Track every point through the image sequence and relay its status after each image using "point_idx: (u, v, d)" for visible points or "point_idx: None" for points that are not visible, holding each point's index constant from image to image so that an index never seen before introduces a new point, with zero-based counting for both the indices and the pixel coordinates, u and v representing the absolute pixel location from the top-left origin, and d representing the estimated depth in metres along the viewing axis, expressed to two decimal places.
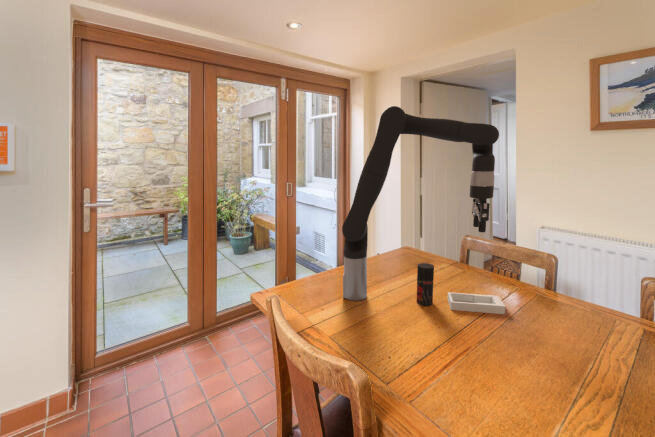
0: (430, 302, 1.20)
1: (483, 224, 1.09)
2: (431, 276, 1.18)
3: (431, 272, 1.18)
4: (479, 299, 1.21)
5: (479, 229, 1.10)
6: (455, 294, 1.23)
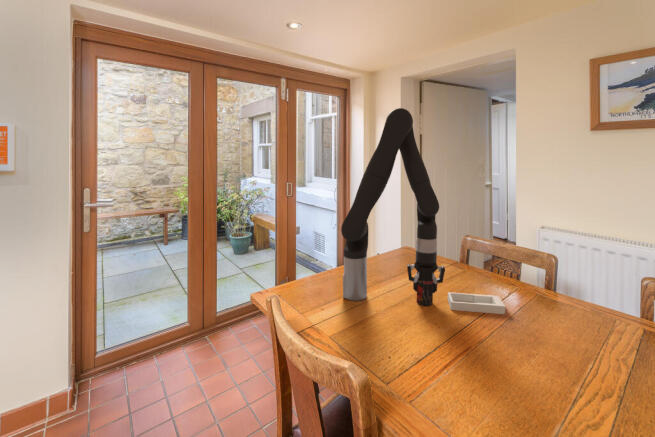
0: (430, 302, 1.20)
1: (436, 285, 1.20)
2: (431, 276, 1.18)
3: (431, 272, 1.18)
4: (479, 299, 1.21)
5: (435, 290, 1.20)
6: (455, 294, 1.23)
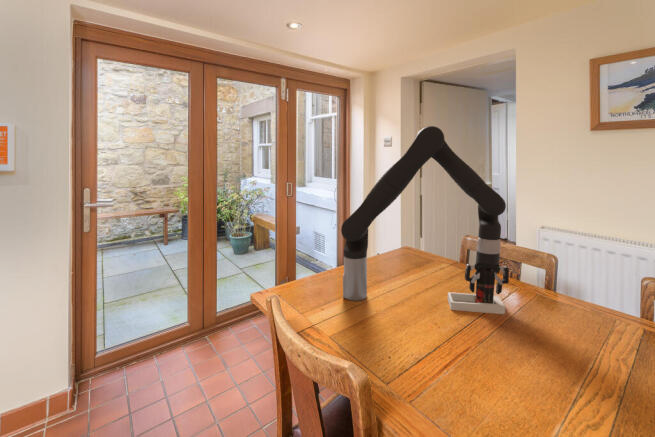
0: None
1: None
2: (493, 280, 1.13)
3: (493, 275, 1.13)
4: None
5: (499, 292, 1.15)
6: (455, 294, 1.23)
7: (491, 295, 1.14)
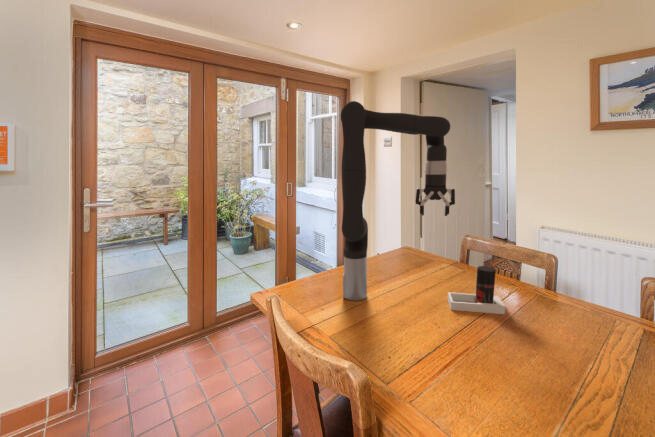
0: None
1: (448, 208, 1.21)
2: (493, 280, 1.13)
3: (493, 275, 1.13)
4: None
5: (447, 213, 1.20)
6: (455, 294, 1.23)
7: (491, 295, 1.14)
